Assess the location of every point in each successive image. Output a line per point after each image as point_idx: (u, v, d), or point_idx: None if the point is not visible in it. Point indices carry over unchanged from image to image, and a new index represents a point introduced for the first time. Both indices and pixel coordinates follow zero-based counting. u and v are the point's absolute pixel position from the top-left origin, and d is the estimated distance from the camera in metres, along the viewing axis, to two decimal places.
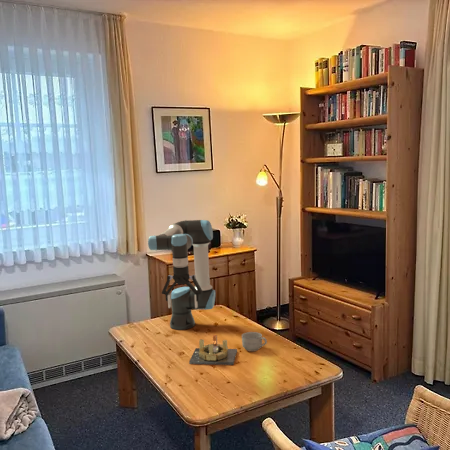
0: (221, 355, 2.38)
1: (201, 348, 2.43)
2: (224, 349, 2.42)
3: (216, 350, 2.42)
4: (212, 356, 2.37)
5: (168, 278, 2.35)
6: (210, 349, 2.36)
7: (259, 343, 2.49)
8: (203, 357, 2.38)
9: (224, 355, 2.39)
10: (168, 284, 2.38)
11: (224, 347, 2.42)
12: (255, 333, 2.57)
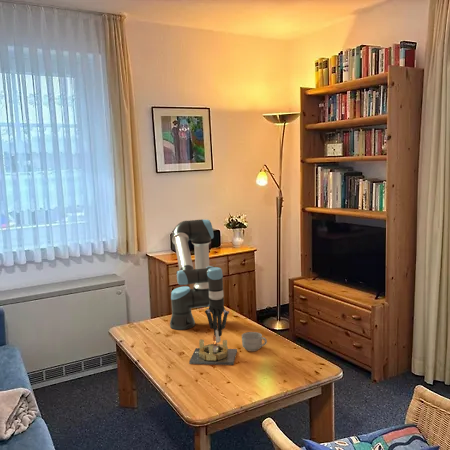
0: (221, 355, 2.38)
1: (201, 348, 2.43)
2: (224, 349, 2.42)
3: (216, 350, 2.42)
4: (212, 356, 2.37)
5: (206, 312, 2.47)
6: (210, 349, 2.36)
7: (259, 343, 2.49)
8: (203, 357, 2.38)
9: (224, 355, 2.39)
10: (211, 317, 2.49)
11: (224, 347, 2.42)
12: (255, 333, 2.56)
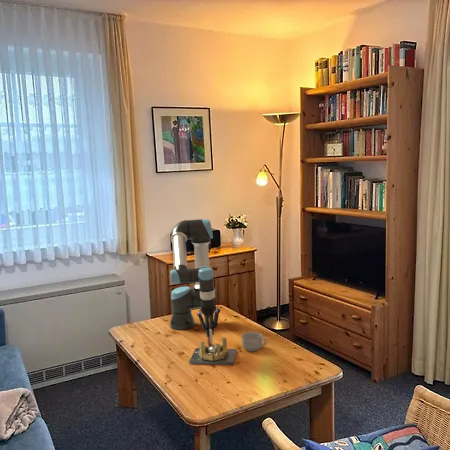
0: (226, 352, 2.41)
1: (203, 350, 2.40)
2: (224, 346, 2.45)
3: None
4: (220, 355, 2.37)
5: (200, 315, 2.43)
6: (218, 348, 2.37)
7: (259, 343, 2.49)
8: (210, 358, 2.37)
9: (227, 352, 2.43)
10: None
11: (224, 344, 2.45)
12: (255, 333, 2.57)
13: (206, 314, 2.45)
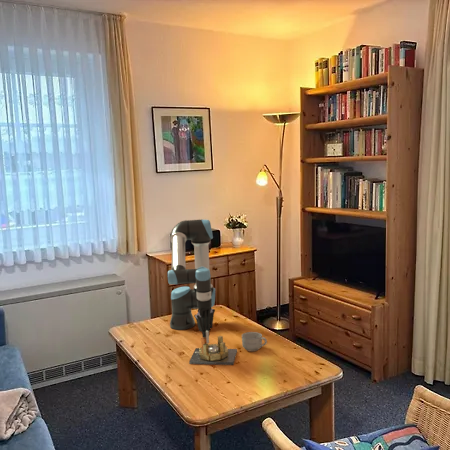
0: (227, 349, 2.44)
1: (207, 352, 2.38)
2: None
3: (216, 350, 2.42)
4: (225, 353, 2.40)
5: (199, 317, 2.41)
6: (224, 346, 2.39)
7: (259, 343, 2.49)
8: (218, 358, 2.37)
9: None
10: None
11: None
12: (255, 333, 2.57)
13: (204, 315, 2.43)
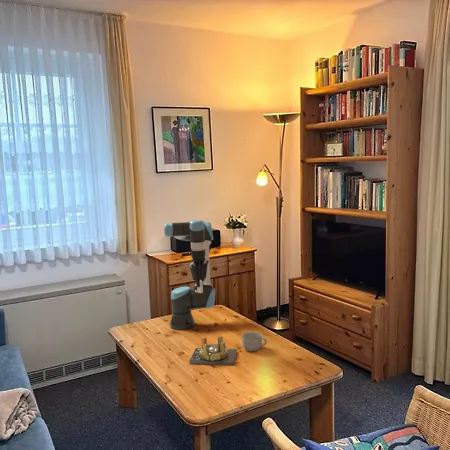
0: (227, 349, 2.44)
1: (207, 352, 2.38)
2: None
3: (216, 350, 2.42)
4: (225, 353, 2.40)
5: (193, 266, 2.51)
6: (224, 346, 2.39)
7: (259, 343, 2.49)
8: (218, 358, 2.37)
9: None
10: None
11: None
12: (255, 333, 2.57)
13: (198, 265, 2.53)
